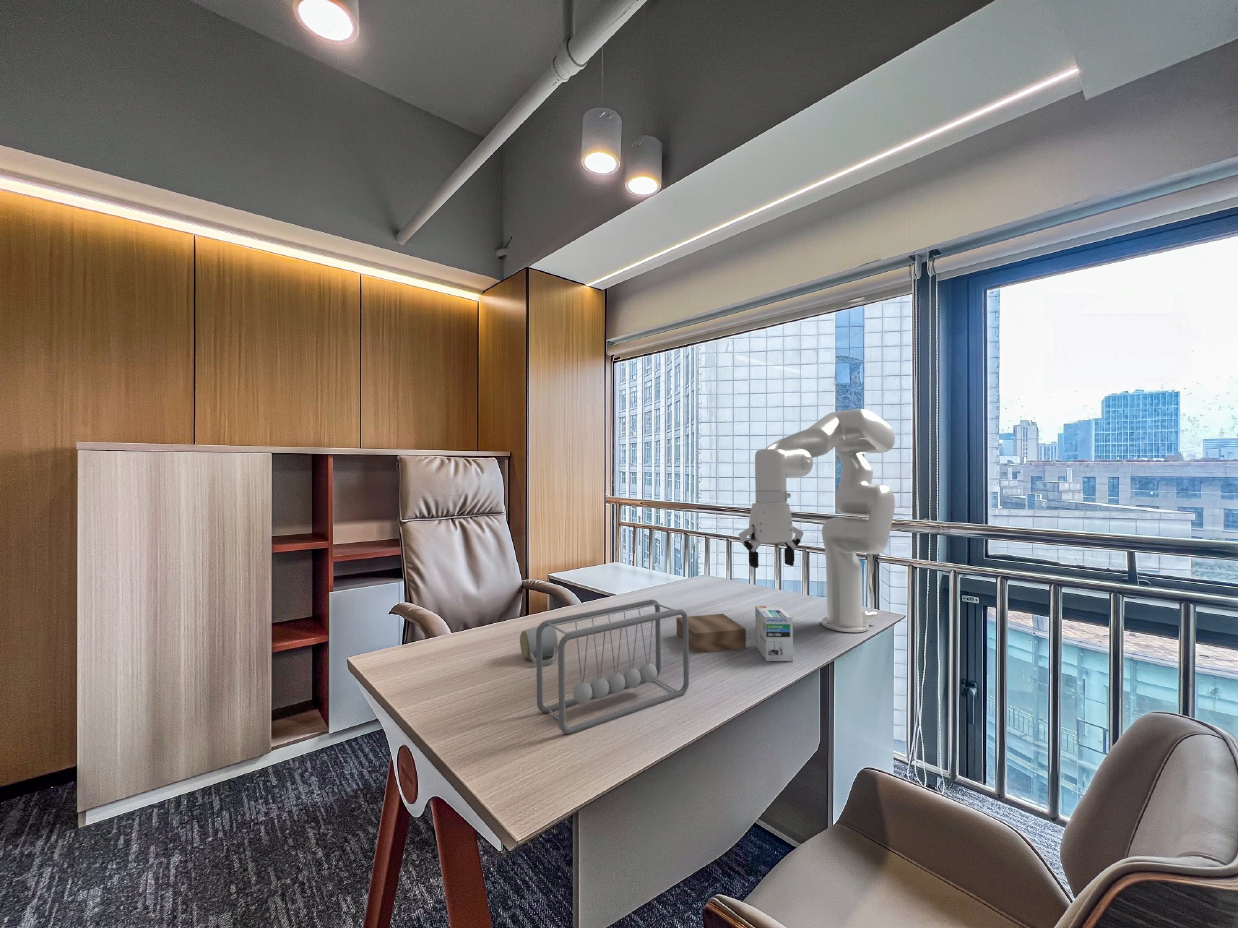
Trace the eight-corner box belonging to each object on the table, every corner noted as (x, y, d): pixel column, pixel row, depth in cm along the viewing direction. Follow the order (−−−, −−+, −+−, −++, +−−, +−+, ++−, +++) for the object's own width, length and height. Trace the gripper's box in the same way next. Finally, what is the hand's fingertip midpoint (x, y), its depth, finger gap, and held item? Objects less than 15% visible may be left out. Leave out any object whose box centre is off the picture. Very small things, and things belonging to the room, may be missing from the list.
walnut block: (723, 631, 142) (722, 613, 142) (746, 648, 128) (745, 628, 128) (676, 635, 139) (676, 617, 139) (695, 653, 125) (694, 633, 125)
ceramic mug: (518, 654, 126) (518, 624, 126) (549, 648, 129) (549, 619, 129) (530, 670, 116) (530, 637, 116) (563, 663, 120) (563, 632, 120)
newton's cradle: (659, 676, 112) (657, 597, 112) (690, 693, 103) (689, 607, 103) (536, 714, 95) (535, 621, 95) (560, 738, 86) (559, 636, 87)
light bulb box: (794, 661, 119) (793, 616, 119) (766, 662, 119) (765, 617, 119) (780, 645, 130) (780, 604, 130) (754, 646, 130) (754, 604, 130)
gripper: (793, 496, 130) (794, 561, 130) (732, 497, 126) (733, 565, 126) (810, 497, 123) (811, 567, 123) (746, 499, 119) (747, 570, 119)
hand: (771, 565), depth 124 cm, fingers open, 9 cm apart
